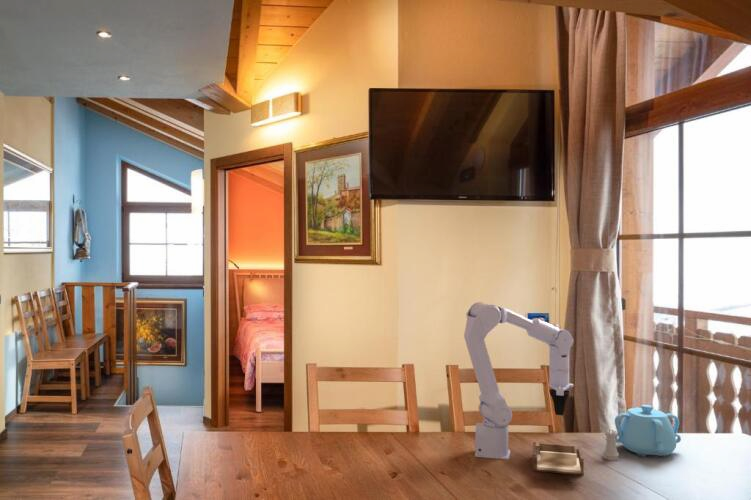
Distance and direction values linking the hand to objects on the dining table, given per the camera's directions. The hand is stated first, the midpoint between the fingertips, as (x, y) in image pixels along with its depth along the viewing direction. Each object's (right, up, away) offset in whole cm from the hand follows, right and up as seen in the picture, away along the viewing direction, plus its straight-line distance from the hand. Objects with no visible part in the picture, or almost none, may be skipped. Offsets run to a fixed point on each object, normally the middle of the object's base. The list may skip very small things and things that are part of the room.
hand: (559, 414), depth 185 cm
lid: (-7, -7, -24) cm, 26 cm away
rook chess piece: (+12, -11, -8) cm, 18 cm away
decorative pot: (+25, -11, -1) cm, 28 cm away
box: (-5, -10, -15) cm, 19 cm away
